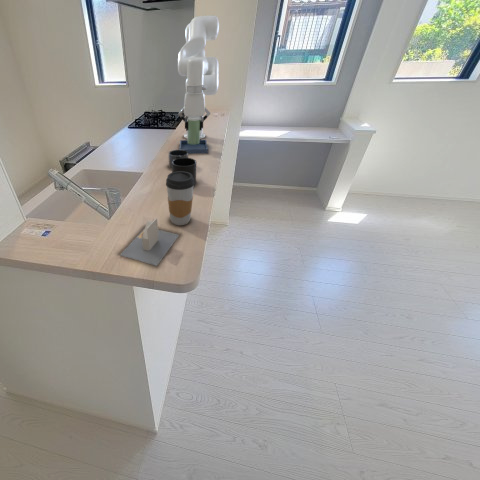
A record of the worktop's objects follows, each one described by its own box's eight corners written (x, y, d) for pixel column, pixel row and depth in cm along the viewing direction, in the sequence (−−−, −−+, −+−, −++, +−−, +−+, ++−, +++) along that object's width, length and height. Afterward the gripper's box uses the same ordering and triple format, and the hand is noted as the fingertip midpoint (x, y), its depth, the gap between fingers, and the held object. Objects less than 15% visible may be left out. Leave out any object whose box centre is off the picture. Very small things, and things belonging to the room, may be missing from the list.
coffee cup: (193, 213, 88) (194, 170, 80) (193, 227, 82) (194, 182, 73) (168, 213, 89) (166, 170, 80) (166, 227, 83) (164, 182, 74)
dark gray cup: (169, 163, 126) (169, 149, 123) (188, 163, 126) (188, 149, 122) (168, 170, 119) (168, 156, 116) (188, 170, 119) (188, 156, 115)
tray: (180, 144, 149) (180, 140, 148) (205, 144, 148) (206, 139, 146) (179, 154, 136) (179, 149, 135) (207, 154, 135) (207, 149, 133)
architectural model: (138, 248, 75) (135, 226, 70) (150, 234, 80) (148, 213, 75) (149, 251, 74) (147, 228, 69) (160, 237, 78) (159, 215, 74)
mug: (198, 177, 112) (199, 156, 107) (193, 189, 103) (194, 167, 98) (176, 175, 114) (176, 154, 109) (169, 187, 105) (169, 165, 100)
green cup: (187, 141, 142) (187, 118, 136) (199, 141, 142) (200, 117, 135) (187, 144, 137) (187, 120, 131) (199, 144, 137) (200, 120, 130)
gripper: (212, 88, 128) (210, 127, 138) (176, 89, 129) (177, 128, 140) (214, 90, 122) (211, 131, 132) (176, 91, 123) (176, 132, 134)
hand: (193, 129), depth 136 cm, fingers closed on green cup, 6 cm apart
